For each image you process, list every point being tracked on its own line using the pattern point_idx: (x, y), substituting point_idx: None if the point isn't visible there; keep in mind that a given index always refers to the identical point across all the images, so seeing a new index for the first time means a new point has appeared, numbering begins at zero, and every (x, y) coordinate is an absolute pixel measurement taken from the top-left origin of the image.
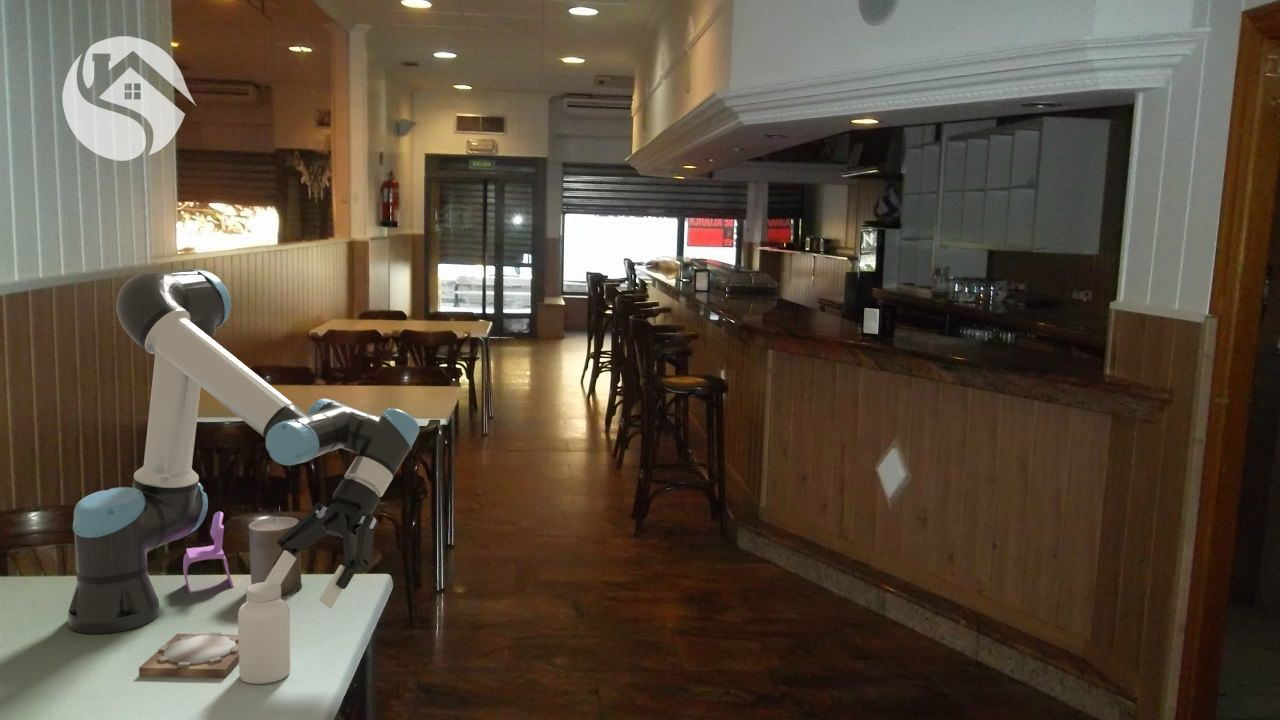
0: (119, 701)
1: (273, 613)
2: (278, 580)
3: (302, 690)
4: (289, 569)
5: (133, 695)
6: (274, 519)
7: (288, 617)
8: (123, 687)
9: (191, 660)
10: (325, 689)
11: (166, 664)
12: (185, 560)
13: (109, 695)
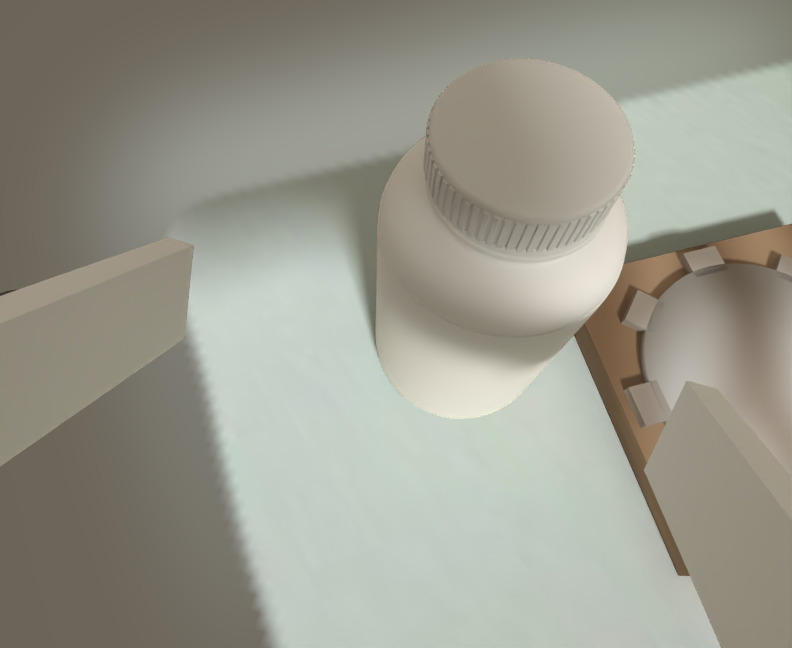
0: (696, 121)
1: (404, 157)
2: (679, 485)
3: (279, 287)
4: (702, 599)
5: (695, 151)
6: None
7: (381, 266)
8: (760, 177)
9: (701, 279)
10: (212, 312)
11: (757, 257)
12: None
13: (748, 137)
